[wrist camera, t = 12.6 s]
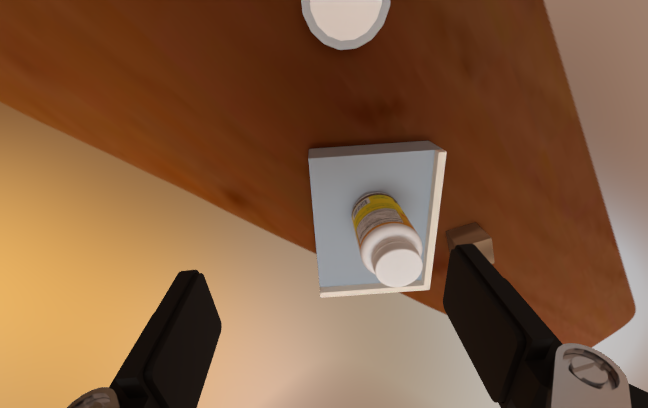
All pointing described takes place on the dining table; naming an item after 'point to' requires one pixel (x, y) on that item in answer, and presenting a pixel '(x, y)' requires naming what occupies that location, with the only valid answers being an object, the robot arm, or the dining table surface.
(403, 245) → the supplement bottle
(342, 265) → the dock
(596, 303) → the dining table surface
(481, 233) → the light brown cube
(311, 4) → the white cup
